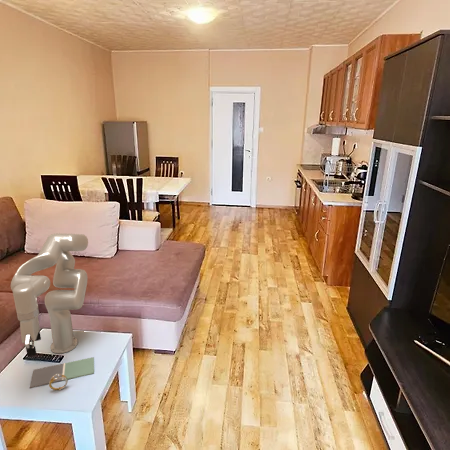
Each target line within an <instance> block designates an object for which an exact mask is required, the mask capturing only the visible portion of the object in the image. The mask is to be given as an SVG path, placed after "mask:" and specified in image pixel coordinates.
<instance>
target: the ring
mask: <svg viewBox="0 0 450 450" xmlns="http://www.w3.org/2000/svg"><path fill="white" fill-rule="evenodd" d="M53 378H54V379H53ZM60 378H63V379H64V381H65V383H64V384H63V386H59V387H55V386H53V385H52V384H53V383H52V382H53V381H55V380H57V379H60ZM68 381H69V380H68V379H67V377H66V376H64V375H62V374H56V375H54V376H53V377H52V378H51V380H50V383H49V384H48V387H49V388H50V389H51V390H53V391H59V392H60V391H62V390H63V389H65V388H66V387H67V385H68Z"/></svg>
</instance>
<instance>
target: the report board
mask: <svg viewBox="0 0 450 450" xmlns="http://www.w3.org/2000/svg"><path fill="white" fill-rule="evenodd" d="M56 374H62V375H64V376H66V377H67V379H68V381H69V380H73V379H77V378H81V377H85V376H90V375H94V374H95V357H87V358H83V359H78V360H75V361H74V360H73V361H69V362H63V363H60V364H55V365H50V366H45V367H41V368H36V369H33V371H32V374H31V379H30V383H29V389H33V388H38V387H43V386H45V385H46V386H47V385H49V383H50V380H51V378H52V377H53V376H54V375H56ZM53 379H54V378H53ZM64 381H65V380H64V379H63V378H60V379H57V380H55V381H53V382H52V383H51V384H56V383H59V382H64Z"/></svg>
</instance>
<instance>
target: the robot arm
mask: <svg viewBox="0 0 450 450" xmlns="http://www.w3.org/2000/svg"><path fill="white" fill-rule="evenodd" d="M88 246H89V239H88V237H87V235H85V234H79V233H52V234H50V235H48V237H47V238H46V240H45V241H44V244H43V245H42V247H41V248H40V250H39V253H38V254H37V255H36V256H34V257H32V258H30V259H29V260H27V261H26V262H23V264H21V265H20V266H19V267H18V268H17V270H16V271H15V274H14V275H13V277H12V280H11V282H10V289H11V291H12V296H13V300H14V306H15V311H16V315H17V320H18V321H19V328H20V337H21V343H22V344H24V346H25V351H26V357H33V356H37V350H36V346H35V341H36V342H37V341H41V340H42V337H41V331H40V322H39V320H40V319H39V315H40V311H39V303H38V299H37V298H38V297H40V296H41V295H43V294H44V293H46V292H47V291H48V290H49V288H50V286H51V279H50V278H49V277H48V276H46V275H40V274H39V275H38V274H37V275H33V274H35V273H38V272H40V271H43V270H46V269H49V268H52V267H53V266H55V270H54V273H53V277H52V284H53V286H54V287H55V288H59V289H54V290H50V291H48V292H47V293H46V294H45V296H44V307H45V308H46V310H47V313H48V317H49V323H50V330H51V331H50V332H51V337H52V343H51V344H50V347H49V348H50V351H51V352H52V353H53V354H56V355H57V354H58V355H59V354H66V353H69V352H71V351H72V350H74V349H75V348H77V346H78V339H77V338H76V337H75V336H74V331H73V330H74V329H73V321H72V314H71V311H75V310H80V309H81V308H82V307H83V305H84V302H85V296H86V291H87V287H88V273H87V271H86V270H85V269H83V268H82V269H81V268H75V265H76V259H75V257H74V255H73V254H72V253H71V252H82V251H85V250H86V249H87V247H88Z"/></svg>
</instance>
